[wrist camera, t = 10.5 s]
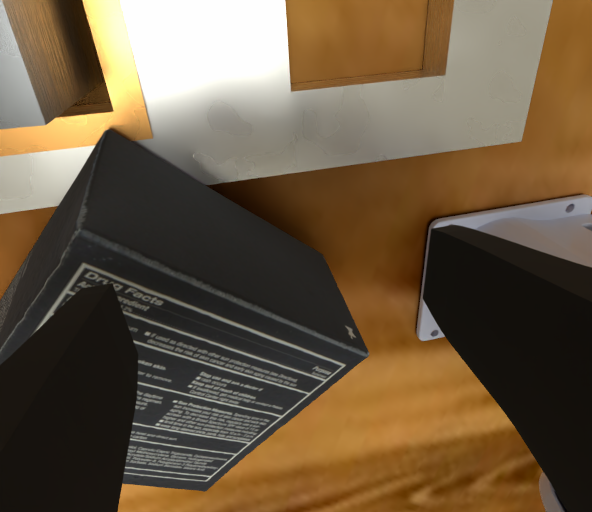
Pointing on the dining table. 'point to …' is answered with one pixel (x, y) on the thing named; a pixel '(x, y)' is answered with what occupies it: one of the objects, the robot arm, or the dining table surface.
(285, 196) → the dining table surface
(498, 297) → the robot arm
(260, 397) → the small box
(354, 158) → the rail plate
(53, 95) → the post
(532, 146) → the dining table surface
